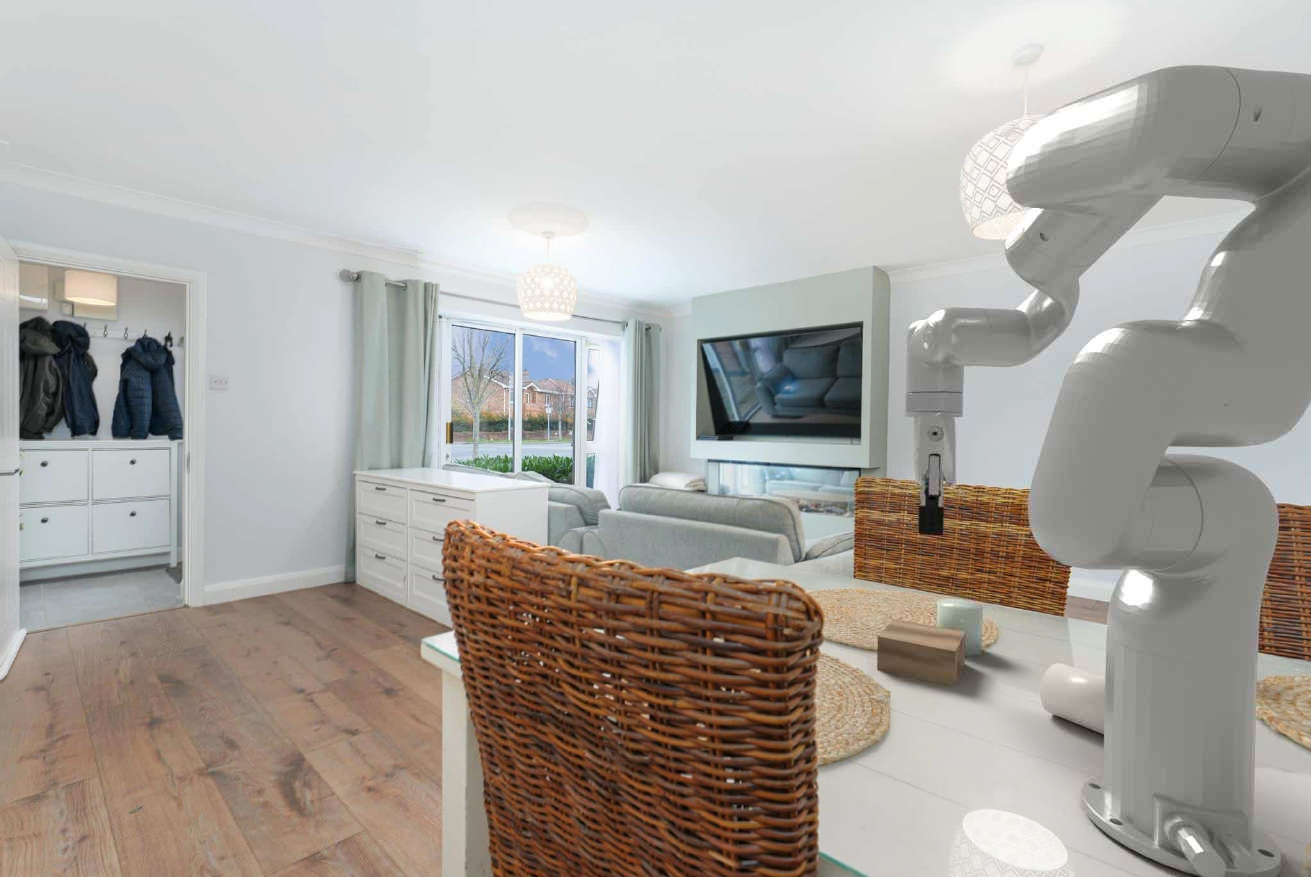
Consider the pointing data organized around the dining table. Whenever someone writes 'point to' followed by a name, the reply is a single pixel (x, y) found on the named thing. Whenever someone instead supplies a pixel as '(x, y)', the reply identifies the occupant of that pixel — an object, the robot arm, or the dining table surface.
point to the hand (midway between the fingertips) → (930, 533)
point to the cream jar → (1074, 696)
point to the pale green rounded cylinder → (962, 621)
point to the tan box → (922, 652)
